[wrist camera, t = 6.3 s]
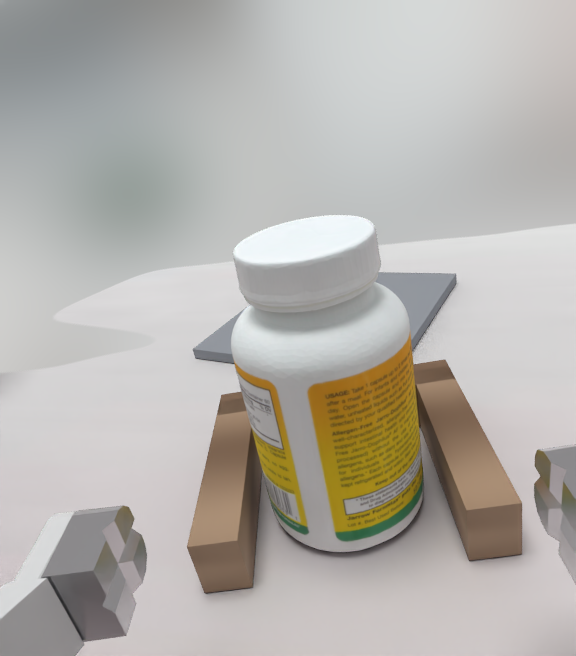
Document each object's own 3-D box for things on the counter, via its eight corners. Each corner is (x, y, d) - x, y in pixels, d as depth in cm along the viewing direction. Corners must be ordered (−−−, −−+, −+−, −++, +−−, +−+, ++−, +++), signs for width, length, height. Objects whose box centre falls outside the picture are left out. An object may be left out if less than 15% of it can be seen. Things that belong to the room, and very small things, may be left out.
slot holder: (521, 554, 15) (522, 503, 14) (204, 593, 16) (187, 546, 15) (447, 399, 22) (444, 359, 21) (232, 432, 23) (221, 394, 22)
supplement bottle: (250, 544, 17) (167, 277, 13) (302, 440, 22) (252, 216, 18) (414, 573, 15) (375, 266, 11) (435, 452, 20) (414, 200, 15)
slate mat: (195, 358, 30) (192, 349, 30) (294, 278, 39) (293, 270, 39) (390, 384, 24) (389, 373, 24) (456, 282, 33) (456, 273, 33)
